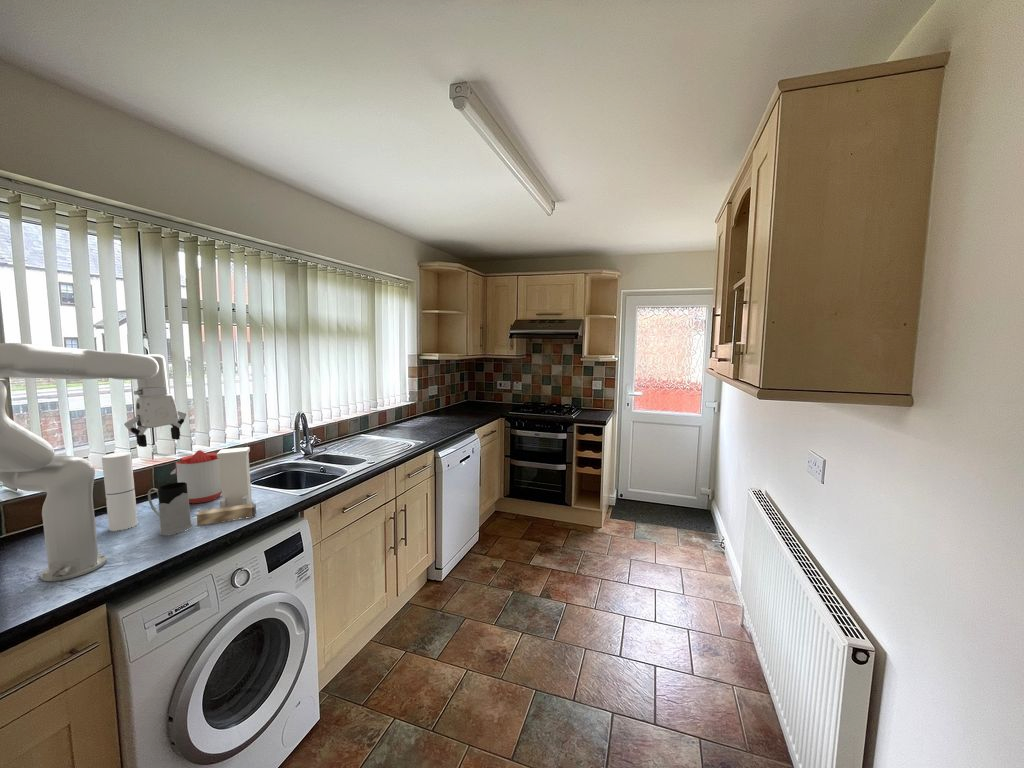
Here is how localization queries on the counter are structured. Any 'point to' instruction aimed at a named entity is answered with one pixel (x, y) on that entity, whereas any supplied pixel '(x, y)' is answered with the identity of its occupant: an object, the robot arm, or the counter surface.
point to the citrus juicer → (200, 476)
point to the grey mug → (172, 508)
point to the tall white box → (235, 476)
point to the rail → (225, 514)
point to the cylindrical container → (119, 491)
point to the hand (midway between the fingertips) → (159, 442)
